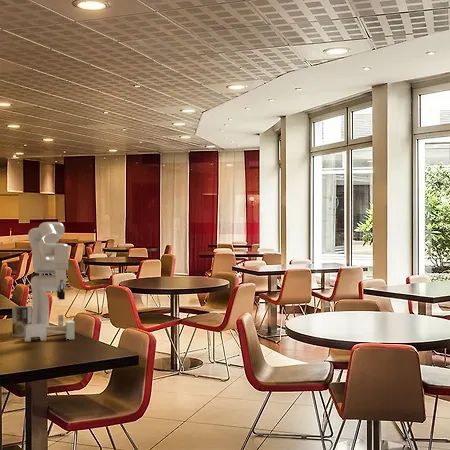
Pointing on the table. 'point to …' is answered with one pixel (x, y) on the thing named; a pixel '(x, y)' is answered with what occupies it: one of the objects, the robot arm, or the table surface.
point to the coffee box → (20, 320)
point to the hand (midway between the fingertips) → (60, 298)
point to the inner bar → (57, 327)
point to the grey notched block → (35, 331)
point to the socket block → (70, 329)
